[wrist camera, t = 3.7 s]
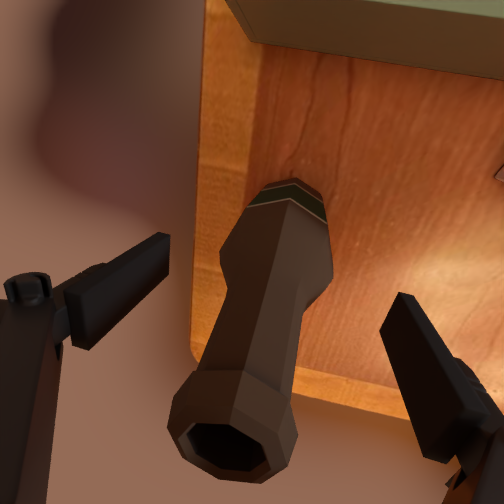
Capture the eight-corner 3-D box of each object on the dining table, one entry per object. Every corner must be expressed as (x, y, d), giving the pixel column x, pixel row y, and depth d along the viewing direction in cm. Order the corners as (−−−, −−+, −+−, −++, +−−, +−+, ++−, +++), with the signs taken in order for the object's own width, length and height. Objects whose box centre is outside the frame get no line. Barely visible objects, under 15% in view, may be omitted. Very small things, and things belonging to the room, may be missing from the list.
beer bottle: (248, 237, 30) (102, 482, 9) (260, 169, 27) (67, 294, 6) (315, 252, 29) (331, 564, 8) (335, 183, 26) (456, 400, 5)
